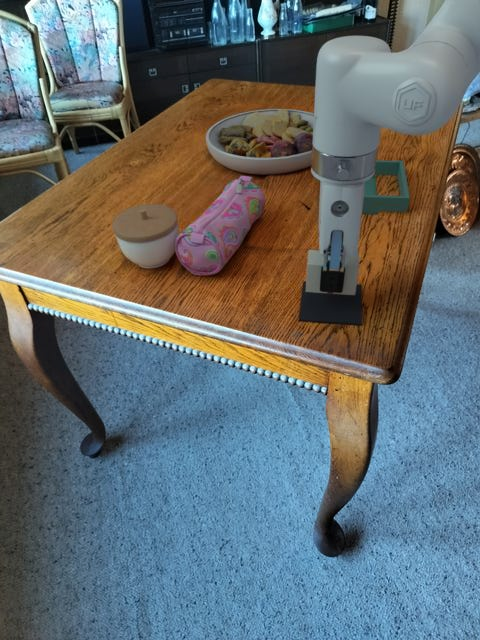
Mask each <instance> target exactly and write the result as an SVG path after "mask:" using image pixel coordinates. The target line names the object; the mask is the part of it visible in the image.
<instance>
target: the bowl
mask: <svg viewBox="0 0 480 640" xmlns="http://www.w3.org/2000/svg"><path fill="white" fill-rule="evenodd" d="M313 124H314V112H309V111H304V110H299V109H289V108H268V109H267V108H266V109H257V110H256V109H255V110H250V111H245V112H244V111H243V112H240V113H237V114H233V115H230V116H228V117H225V118H222V119H221V120H219V121H217V122H216V123H214V124H213V125H212V126H210V127H209V129H208V130H207V132H206V134H205V143H206V147H207V149H208V152H209V154H210V155H211V156H212V157H213V159H214V160H215V161H216V162H217V163H218V164H220V165H222V166H223V167H225V168H227V169H230V170H232V171H235V172H239V173H244V174H249V175H262V176H267V175H278V174H279V175H280V174H288V173H292V172H297V171H301V170H304V169H306V168H309V167H311V162H312V144H313Z"/></svg>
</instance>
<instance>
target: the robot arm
mask: <svg viewBox="0 0 480 640" xmlns="http://www.w3.org/2000/svg"><path fill="white" fill-rule="evenodd" d="M315 67H316V68H315V87H314V88H315V89H314V106H313V113H314V124H313V144H312V162H311V166H310V173H311V175H312V176H313V177H314V178H315V179H317V180H318V181H320V183H319V201H318V203H319V204H318V248H319V249H318V250H319V253H320V254H321V255H322V256H324V264H323V267H321V278H320V291H321V292H333V293H342V292H343V285H344V276H345V268H344V264H345V255H346V254H347V256H348V257H352V258H354V257H356V256H357V252H359V251H358V250H359V241H360V235H361V234H360V232H361V225H362V216H363V214H362V209H363V200H364V188H365V181H367V180H369V179H371V178H372V177H373V176H374V173H375V167H376V160H377V159H378V154H379V153H378V152H379V147H380V140H381V132H382V128H384V129H387V130H390V131H391V132H392V131H393V132H395V133H399V134H403V135H407V136H425V135H429V134H433V133H435V132H437V131H438V130H440V129H441V128H443V127H444V126H446V124H448V122H449V121H450V120H451V119H452V118H453V117H454V116H455V114H456V112H457V111H458V109H459V107H460V105H461V103H462V101H463V99H464V97H465V95H466V92H467V91H468V89H469V88H470V86H471V84H472V83H473V81H474V80H475V79H476V78H477V76H478V75H479V74H480V0H445V1H444V3H442V5H441V6H440V8H439V9H438V11H437V12H436V13H435V15H434V16H433V17H432V19H430V21H429V23H428V24H427V25H426V27H425V28H424V29H423V31H422V32H421V33H420V34H419V36H418V37H417V38H416V40H415V41H414V42H413V43H412V44H411V45H410V46H409V47H408V48H407V49H404V50H401V51H398V52H392V50H391V47H390V46H389V44H388V43H387V42H386V41H385V40H383V39H380V38H378V37H374V36H367V35H346V36H339V37H335V38H333V39H330V40H328V41H326V42H325V43H324V44H322V46H321V47H320V49H319V51H318V53H317V58H316V66H315ZM328 255H329V256H330V260H328ZM340 256H341V261H340Z"/></svg>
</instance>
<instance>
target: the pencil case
mask: <svg viewBox="0 0 480 640" xmlns="http://www.w3.org/2000/svg"><path fill="white" fill-rule="evenodd" d="M252 180H253V177H252V176H247V175H240V176H239V178H236V179H234V180H232V181H230V182H229V183H227V184H226V185H225V186H224V189H223V190H222V193H221V194H220V195H218V197H217V198H216V199H215V200H214V202H213V203H212V204H211V205H210V206H209V207H208V208H206V210H205V211H203V212H202V214H201V215H199V217H197V219H196V220H195V221H194V222H193V223H190V224H189V225H188V226H187V227H186V228H185V230H183V231H182V232H179V235H178V237H177V239H176V243H175V255H176V257H177V259H178V261H179V262H180V264H181V265H182V266H183V267H184V268H185V269H186V270H187V271H189V272H190V274H192V275H195V276H204V277H205V276H213V275H215V274H218V273H219V272H220V271H221V270H222V269H223V268H224V266H226V264H227V263H228V262H229V261H230V259H231V258H232V256H233V255H234V254H235V253H236V251H238V249H239V248H240V246H241V245H242V243H243V241H244V239H245V237H246V236H247V234H248V233H249V231H250V230H251V227H252V226H253V224H254V222H256V221H257V220H259V219H260V218H262V216H263V214H264V212H265V211H264V210H265V205H266V197H265V193H264V191H263V190H262V188H261V187H260V186H259V185H258V184H256V183H254V182H252Z"/></svg>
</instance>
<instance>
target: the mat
mask: <svg viewBox="0 0 480 640" xmlns="http://www.w3.org/2000/svg"><path fill="white" fill-rule="evenodd" d="M362 289H363V288H362V284H360V283H357V285H356V292H355V295H344V294H327V293H314V292H306V280H303V281H302V288H301V295H300V296H301V297H300V304H299V312H298V313H299V314H298V322H306V323H319V324H320V323H321V324H334V325H347V326H359V327H360V326H363V296H362V295H363V294H362V292H363V290H362Z"/></svg>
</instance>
